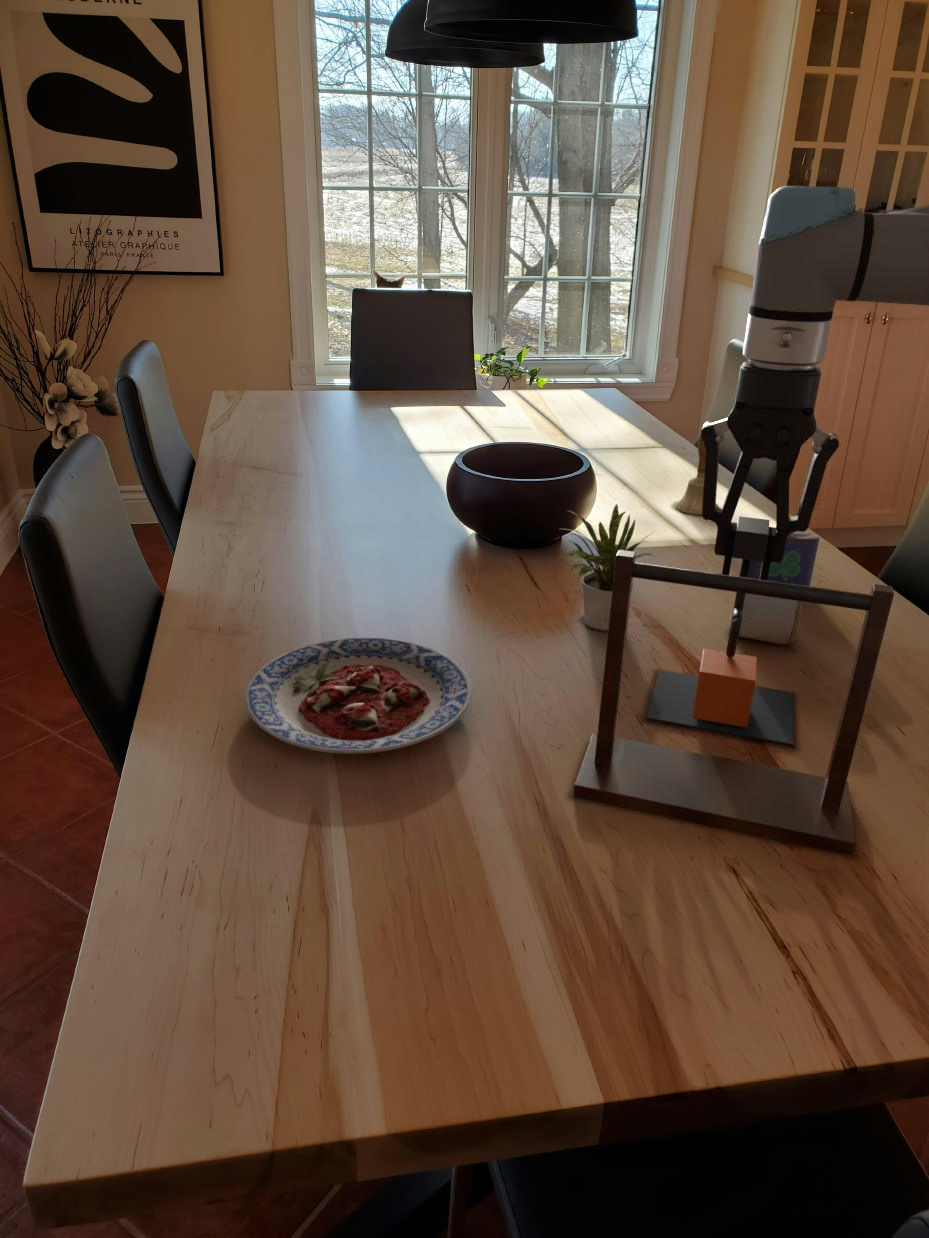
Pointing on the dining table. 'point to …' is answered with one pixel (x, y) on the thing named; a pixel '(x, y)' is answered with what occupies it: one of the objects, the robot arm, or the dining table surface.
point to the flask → (792, 561)
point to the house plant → (601, 581)
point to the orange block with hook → (732, 644)
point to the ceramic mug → (770, 619)
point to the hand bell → (695, 487)
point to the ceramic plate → (358, 695)
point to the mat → (764, 724)
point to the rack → (720, 784)
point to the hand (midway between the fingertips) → (742, 585)
